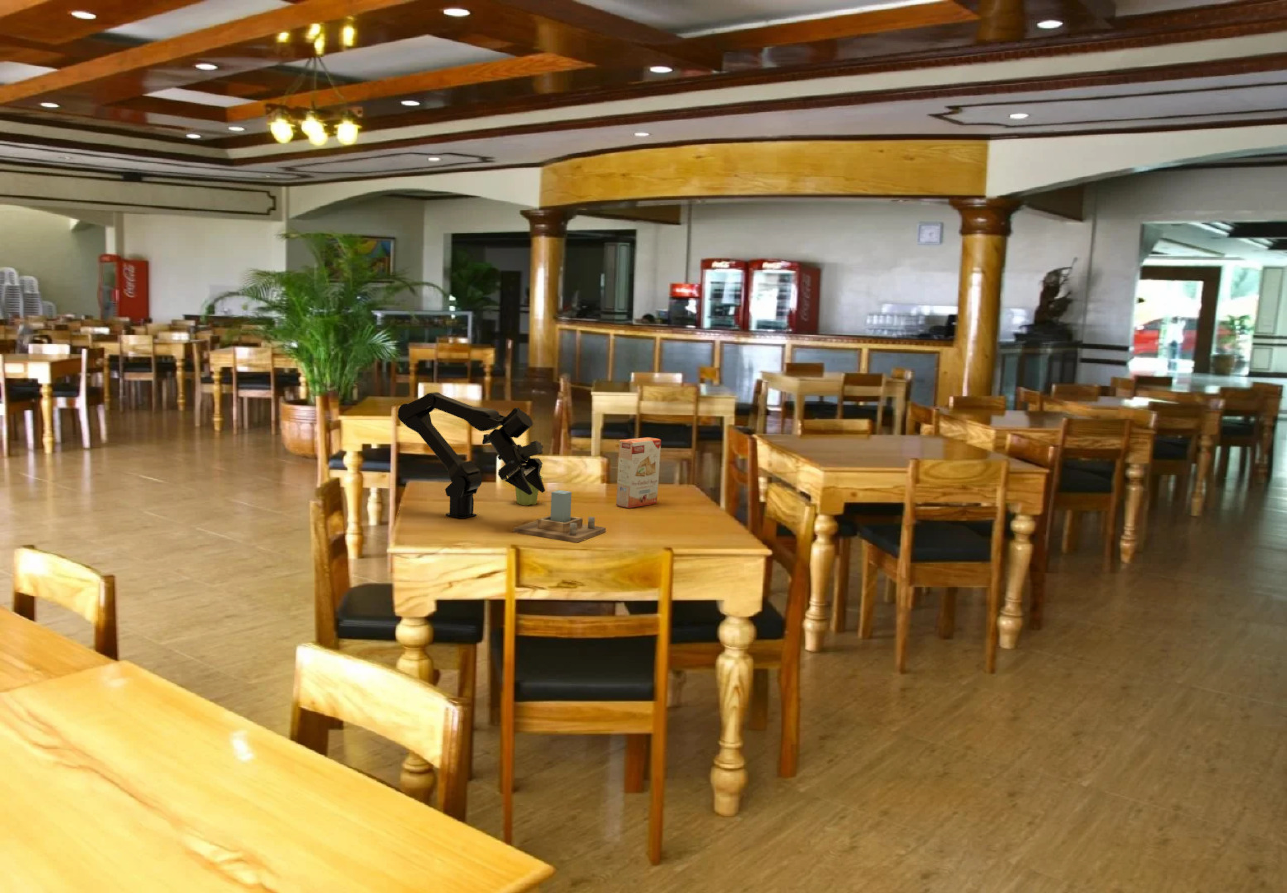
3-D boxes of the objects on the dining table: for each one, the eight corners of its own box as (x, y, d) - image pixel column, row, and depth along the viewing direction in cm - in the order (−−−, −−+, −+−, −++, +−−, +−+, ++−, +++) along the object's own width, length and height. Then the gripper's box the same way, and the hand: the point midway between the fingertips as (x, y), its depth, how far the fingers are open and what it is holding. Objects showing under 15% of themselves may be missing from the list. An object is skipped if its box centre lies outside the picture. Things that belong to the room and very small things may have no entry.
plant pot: (544, 501, 337) (545, 474, 335) (538, 507, 327) (539, 479, 326) (515, 499, 338) (516, 472, 336) (508, 505, 328) (509, 477, 327)
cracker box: (629, 509, 331) (632, 442, 328) (615, 506, 335) (618, 439, 332) (658, 503, 342) (662, 438, 339) (644, 500, 346) (647, 436, 343)
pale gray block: (550, 528, 295) (551, 492, 293) (557, 525, 298) (558, 490, 297) (562, 530, 293) (564, 494, 292) (570, 527, 296) (571, 491, 295)
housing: (513, 532, 293) (513, 517, 292) (543, 522, 307) (544, 507, 307) (577, 542, 284) (577, 527, 284) (605, 531, 299) (606, 517, 298)
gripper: (514, 431, 291) (546, 478, 288) (540, 430, 309) (571, 474, 306) (484, 455, 293) (516, 502, 291) (511, 453, 311) (541, 496, 309)
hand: (537, 493), depth 299 cm, fingers open, 9 cm apart
